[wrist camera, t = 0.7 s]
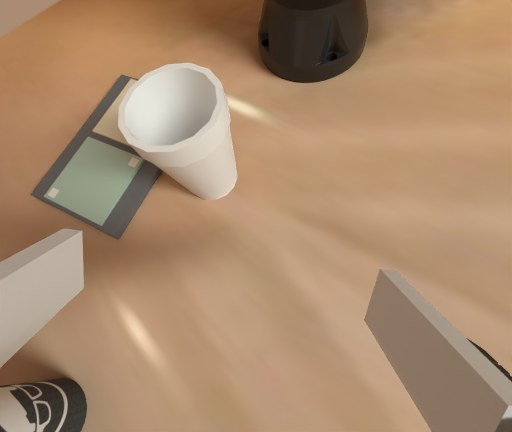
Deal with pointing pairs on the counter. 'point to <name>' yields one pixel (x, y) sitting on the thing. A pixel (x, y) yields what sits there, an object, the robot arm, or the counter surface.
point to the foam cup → (182, 127)
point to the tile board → (100, 170)
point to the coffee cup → (42, 406)
